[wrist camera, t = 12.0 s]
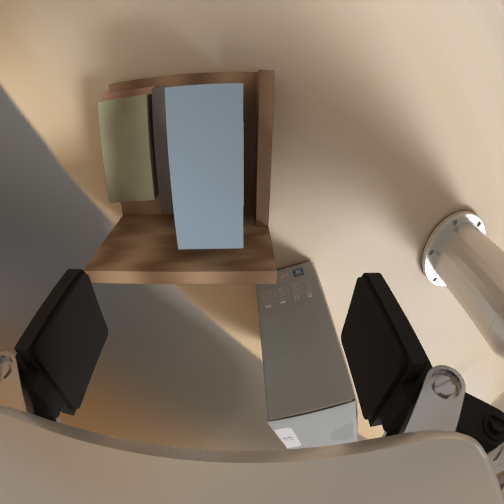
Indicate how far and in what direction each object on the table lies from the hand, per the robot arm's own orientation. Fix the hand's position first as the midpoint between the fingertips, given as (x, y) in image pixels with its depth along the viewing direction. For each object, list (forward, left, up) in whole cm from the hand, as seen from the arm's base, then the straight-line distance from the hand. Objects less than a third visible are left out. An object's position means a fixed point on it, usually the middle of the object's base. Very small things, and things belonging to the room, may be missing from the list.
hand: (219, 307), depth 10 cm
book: (+2, -1, -22) cm, 22 cm away
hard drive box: (-9, +21, -23) cm, 33 cm away
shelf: (+4, -1, -23) cm, 23 cm away
